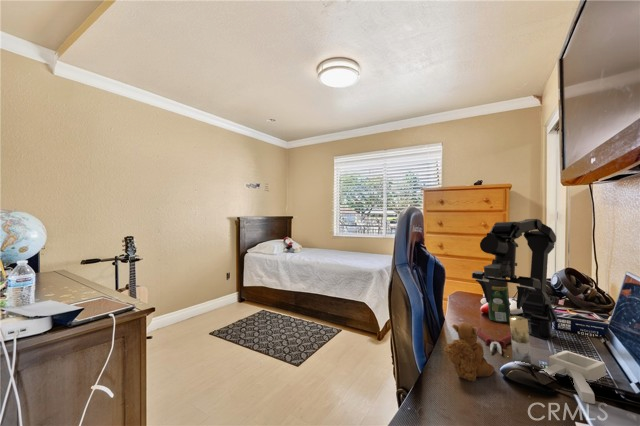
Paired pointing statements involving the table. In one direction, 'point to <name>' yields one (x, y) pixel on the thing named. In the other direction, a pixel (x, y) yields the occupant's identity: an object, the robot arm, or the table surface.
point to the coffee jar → (499, 302)
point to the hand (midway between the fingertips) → (502, 305)
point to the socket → (577, 371)
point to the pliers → (492, 343)
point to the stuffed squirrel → (468, 354)
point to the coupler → (520, 339)
